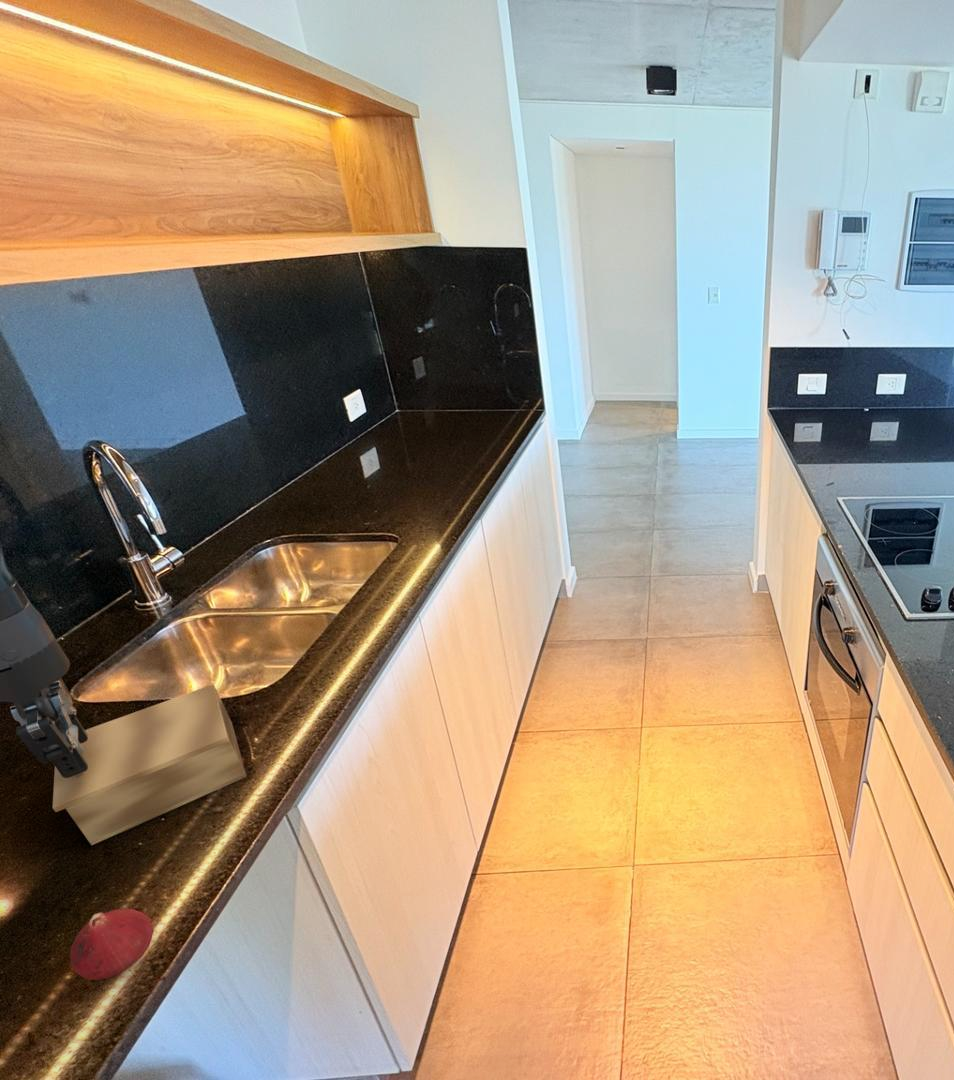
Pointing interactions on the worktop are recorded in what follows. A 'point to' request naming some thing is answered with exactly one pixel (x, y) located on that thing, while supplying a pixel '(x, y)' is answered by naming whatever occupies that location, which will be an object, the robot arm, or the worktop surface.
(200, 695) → the lid
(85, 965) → the onion
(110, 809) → the breadbox
